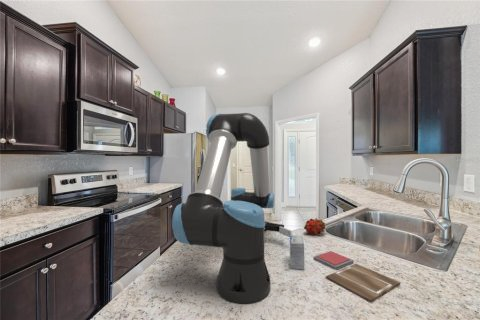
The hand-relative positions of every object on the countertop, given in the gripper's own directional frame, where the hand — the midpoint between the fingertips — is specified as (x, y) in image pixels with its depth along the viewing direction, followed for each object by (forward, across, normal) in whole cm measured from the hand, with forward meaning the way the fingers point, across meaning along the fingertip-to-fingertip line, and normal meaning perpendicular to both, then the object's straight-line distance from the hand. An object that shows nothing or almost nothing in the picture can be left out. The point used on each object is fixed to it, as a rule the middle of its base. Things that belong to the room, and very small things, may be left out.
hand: (278, 237), depth 81 cm
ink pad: (+15, -13, -6) cm, 21 cm away
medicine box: (+10, 0, -6) cm, 12 cm away
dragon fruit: (-8, -31, -7) cm, 33 cm away
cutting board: (+27, -9, -6) cm, 29 cm away
